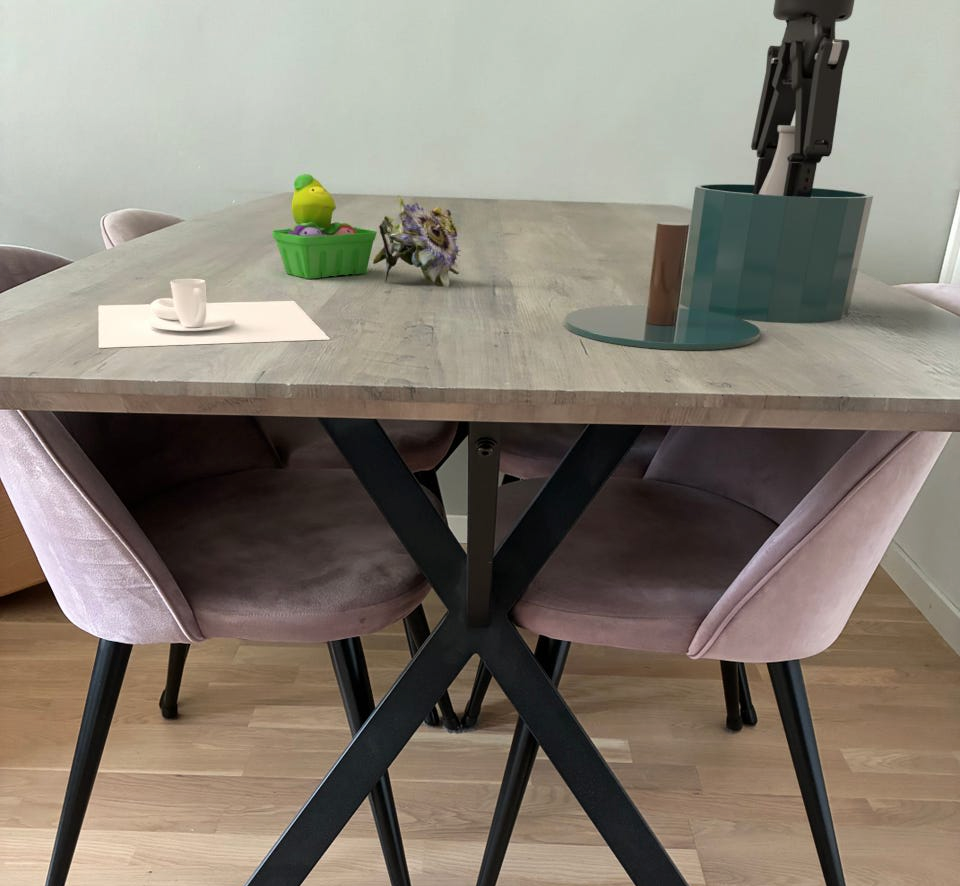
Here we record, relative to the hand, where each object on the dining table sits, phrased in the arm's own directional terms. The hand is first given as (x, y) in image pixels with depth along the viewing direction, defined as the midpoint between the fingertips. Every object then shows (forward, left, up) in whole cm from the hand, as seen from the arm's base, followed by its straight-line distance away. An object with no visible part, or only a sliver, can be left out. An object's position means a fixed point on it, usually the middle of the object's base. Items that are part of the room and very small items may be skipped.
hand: (775, 227), depth 103 cm
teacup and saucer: (+60, +8, -9) cm, 61 cm away
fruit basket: (+49, -24, -9) cm, 55 cm away
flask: (0, 0, 0) cm, 1 cm away
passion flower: (+38, -16, -9) cm, 42 cm away
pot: (0, 0, -9) cm, 9 cm away
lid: (+16, +13, -8) cm, 22 cm away
